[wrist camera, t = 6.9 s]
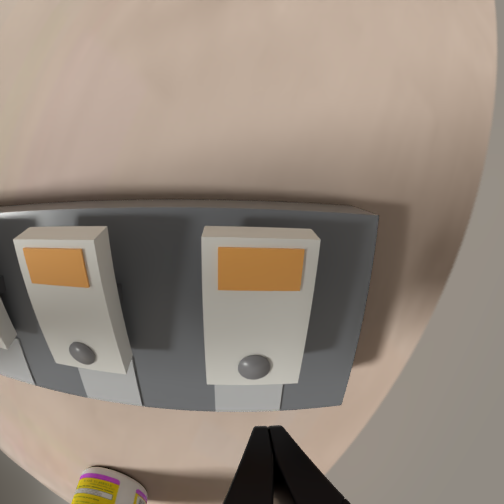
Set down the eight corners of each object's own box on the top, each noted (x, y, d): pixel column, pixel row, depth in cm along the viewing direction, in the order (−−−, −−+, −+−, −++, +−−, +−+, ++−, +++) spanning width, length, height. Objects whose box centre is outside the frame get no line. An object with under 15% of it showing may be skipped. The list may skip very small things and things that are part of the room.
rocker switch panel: (-8, 343, 15) (-32, 367, 12) (-36, 210, 13) (-70, 220, 9) (327, 372, 17) (343, 411, 14) (351, 205, 14) (384, 217, 11)
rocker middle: (132, 354, 12) (125, 376, 11) (65, 346, 12) (55, 364, 11) (107, 226, 10) (92, 241, 8) (29, 226, 9) (11, 240, 8)
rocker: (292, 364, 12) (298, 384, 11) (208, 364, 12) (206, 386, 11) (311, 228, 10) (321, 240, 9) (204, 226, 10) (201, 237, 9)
